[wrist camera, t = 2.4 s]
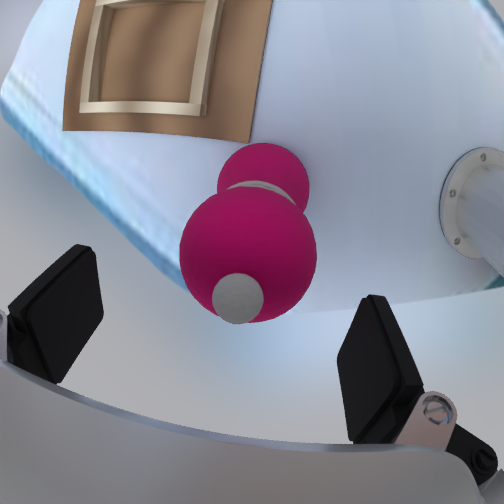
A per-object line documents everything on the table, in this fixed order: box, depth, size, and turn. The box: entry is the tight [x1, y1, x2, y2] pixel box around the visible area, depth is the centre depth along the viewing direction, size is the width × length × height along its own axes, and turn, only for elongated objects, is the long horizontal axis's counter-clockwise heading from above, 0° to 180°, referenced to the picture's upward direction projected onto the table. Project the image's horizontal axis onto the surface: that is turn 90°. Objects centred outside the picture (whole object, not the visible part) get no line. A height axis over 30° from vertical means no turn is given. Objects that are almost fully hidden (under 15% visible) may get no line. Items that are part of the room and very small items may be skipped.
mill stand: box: [62, 0, 273, 143], centre depth 21 cm, size 20×16×3 cm
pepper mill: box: [180, 143, 317, 324], centre depth 19 cm, size 7×7×20 cm
